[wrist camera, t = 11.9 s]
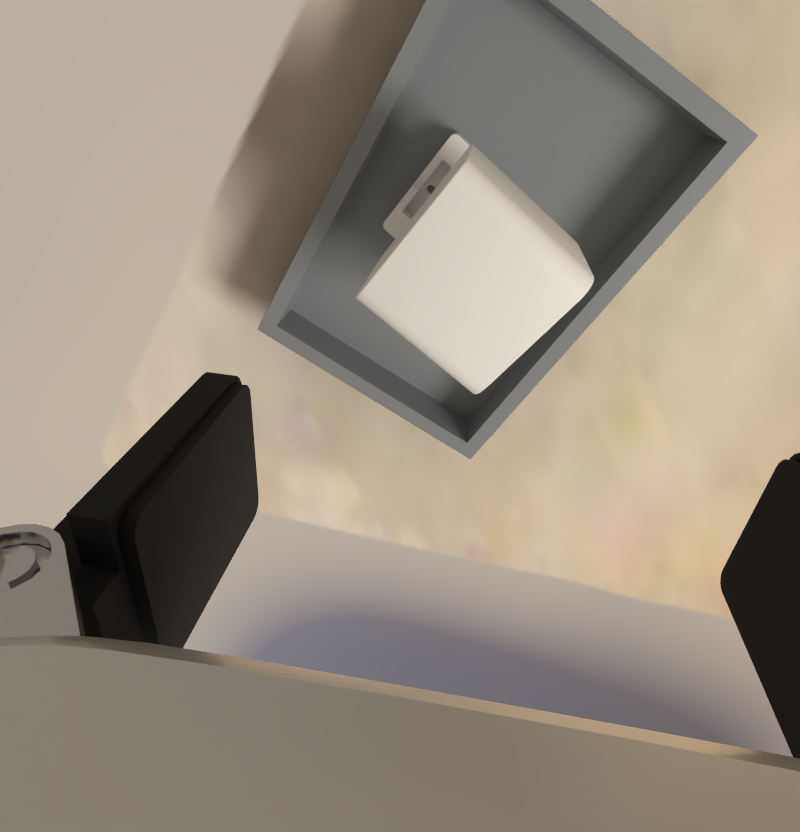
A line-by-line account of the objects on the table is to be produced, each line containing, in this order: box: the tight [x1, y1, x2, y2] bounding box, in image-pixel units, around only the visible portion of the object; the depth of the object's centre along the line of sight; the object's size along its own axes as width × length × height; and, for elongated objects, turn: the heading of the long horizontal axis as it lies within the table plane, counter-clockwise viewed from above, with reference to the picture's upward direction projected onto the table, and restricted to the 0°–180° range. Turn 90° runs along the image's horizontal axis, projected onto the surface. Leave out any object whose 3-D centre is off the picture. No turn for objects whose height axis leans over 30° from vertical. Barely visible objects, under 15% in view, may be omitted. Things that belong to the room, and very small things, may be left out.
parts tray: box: [258, 0, 758, 459], centre depth 28 cm, size 20×14×4 cm
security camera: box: [356, 132, 594, 394], centre depth 24 cm, size 6×7×10 cm
